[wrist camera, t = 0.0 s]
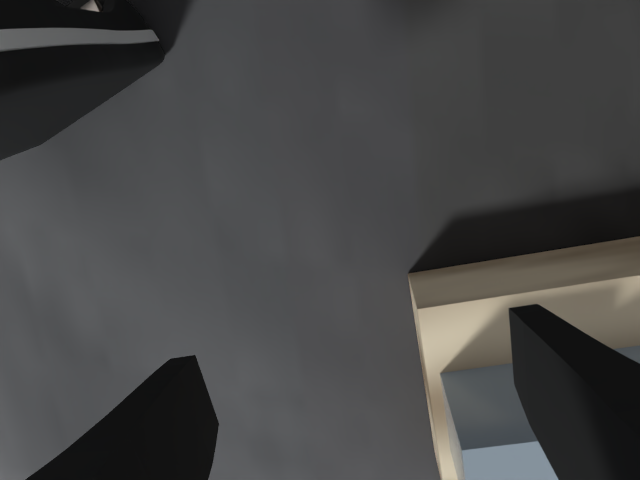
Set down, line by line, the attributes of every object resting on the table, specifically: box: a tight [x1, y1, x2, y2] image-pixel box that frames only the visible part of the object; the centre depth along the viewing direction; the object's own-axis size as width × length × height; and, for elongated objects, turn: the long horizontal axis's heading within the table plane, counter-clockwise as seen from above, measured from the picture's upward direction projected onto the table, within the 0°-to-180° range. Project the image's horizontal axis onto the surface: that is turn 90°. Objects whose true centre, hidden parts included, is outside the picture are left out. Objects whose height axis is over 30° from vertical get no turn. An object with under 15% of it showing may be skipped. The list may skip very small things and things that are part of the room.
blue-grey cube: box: [440, 363, 558, 480], centre depth 19 cm, size 4×4×4 cm
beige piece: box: [408, 236, 640, 480], centre depth 22 cm, size 10×12×3 cm
